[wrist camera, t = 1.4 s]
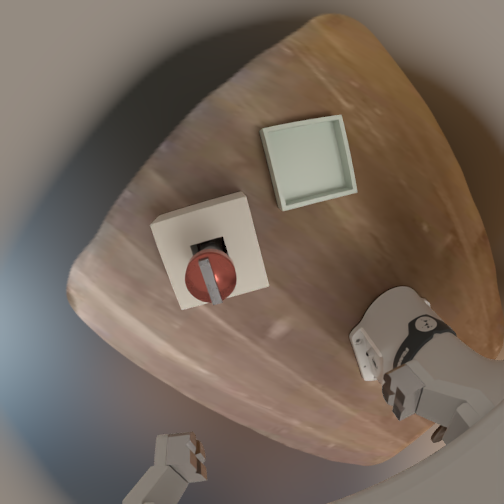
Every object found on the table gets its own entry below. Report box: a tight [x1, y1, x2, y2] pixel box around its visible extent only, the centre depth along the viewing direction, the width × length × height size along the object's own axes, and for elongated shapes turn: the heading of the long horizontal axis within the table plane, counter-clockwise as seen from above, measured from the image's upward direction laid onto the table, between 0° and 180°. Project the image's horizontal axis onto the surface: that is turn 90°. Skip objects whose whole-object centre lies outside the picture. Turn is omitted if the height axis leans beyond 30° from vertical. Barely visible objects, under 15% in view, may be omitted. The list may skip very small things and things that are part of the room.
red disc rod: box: [185, 237, 237, 305], centre depth 34 cm, size 5×5×14 cm
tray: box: [259, 115, 357, 211], centre depth 37 cm, size 11×11×3 cm
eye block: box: [150, 191, 269, 310], centre depth 38 cm, size 12×12×6 cm
